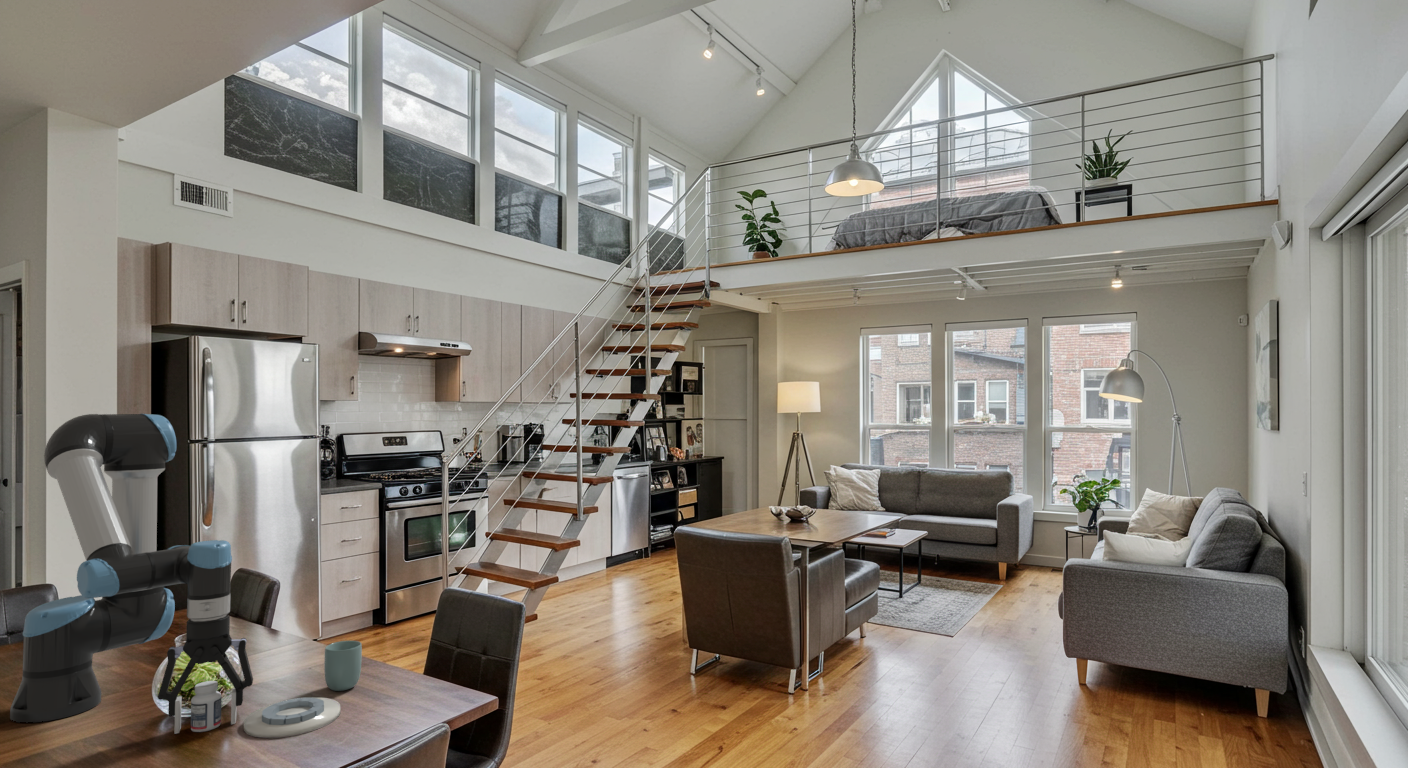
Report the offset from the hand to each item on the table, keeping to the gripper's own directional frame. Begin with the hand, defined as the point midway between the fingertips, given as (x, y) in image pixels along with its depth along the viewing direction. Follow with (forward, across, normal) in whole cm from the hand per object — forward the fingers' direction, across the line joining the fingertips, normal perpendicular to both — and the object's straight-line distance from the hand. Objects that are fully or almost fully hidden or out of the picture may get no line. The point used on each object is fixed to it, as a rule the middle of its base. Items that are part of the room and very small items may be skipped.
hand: (206, 726), depth 155 cm
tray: (0, +16, -4) cm, 16 cm away
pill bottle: (0, 0, 0) cm, 0 cm away
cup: (0, +26, +11) cm, 28 cm away
